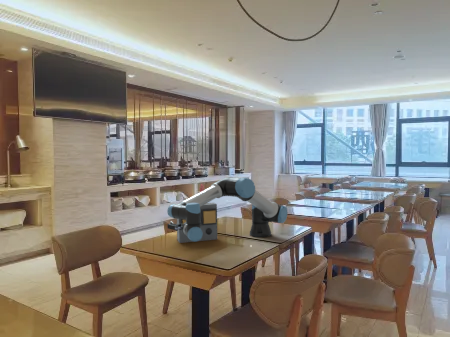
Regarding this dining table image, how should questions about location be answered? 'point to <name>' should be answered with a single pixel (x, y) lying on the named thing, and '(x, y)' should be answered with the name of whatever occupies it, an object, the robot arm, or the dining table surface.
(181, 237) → the grey knob panel box
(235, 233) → the dining table surface
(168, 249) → the dining table surface
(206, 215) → the switch key
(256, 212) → the robot arm
